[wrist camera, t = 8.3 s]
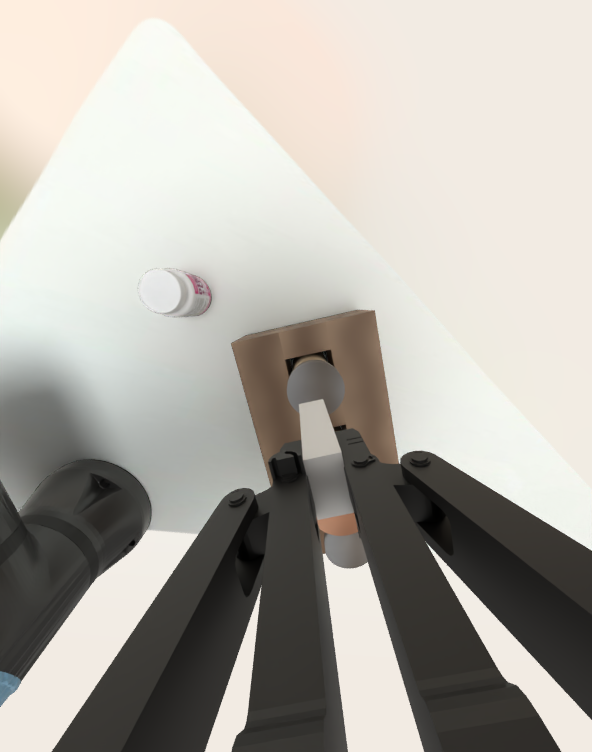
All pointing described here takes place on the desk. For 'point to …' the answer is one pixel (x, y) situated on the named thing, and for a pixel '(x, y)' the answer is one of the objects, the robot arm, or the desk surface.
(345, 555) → the plug
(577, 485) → the desk surface
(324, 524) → the plug middle
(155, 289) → the pill bottle
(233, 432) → the desk surface
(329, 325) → the socket board
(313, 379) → the plug
